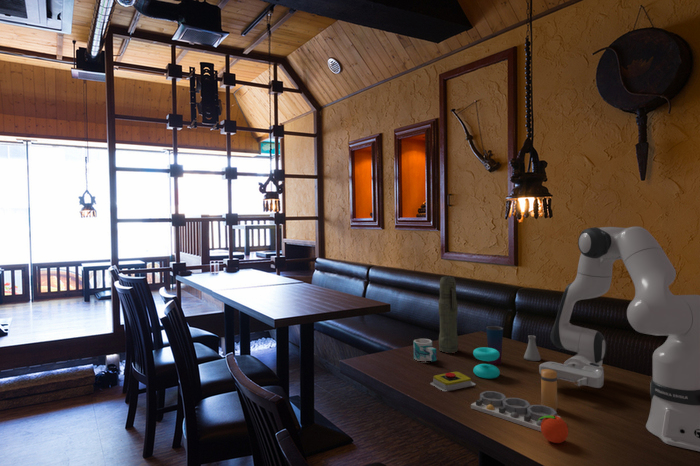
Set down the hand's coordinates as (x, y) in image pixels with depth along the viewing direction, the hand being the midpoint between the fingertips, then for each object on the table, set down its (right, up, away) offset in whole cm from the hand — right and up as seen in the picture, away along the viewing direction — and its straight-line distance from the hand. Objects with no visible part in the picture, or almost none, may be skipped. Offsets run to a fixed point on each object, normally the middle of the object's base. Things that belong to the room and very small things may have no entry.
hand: (561, 379), depth 148 cm
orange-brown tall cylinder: (-7, -7, -7) cm, 12 cm away
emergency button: (-33, -8, +16) cm, 38 cm away
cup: (-10, -6, +39) cm, 41 cm away
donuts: (-18, -7, +25) cm, 31 cm away
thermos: (-25, -6, +57) cm, 63 cm away
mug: (-39, -7, +44) cm, 59 cm away
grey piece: (-20, -7, -11) cm, 24 cm away
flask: (+8, -6, +44) cm, 45 cm away
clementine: (-16, -8, -28) cm, 33 cm away
